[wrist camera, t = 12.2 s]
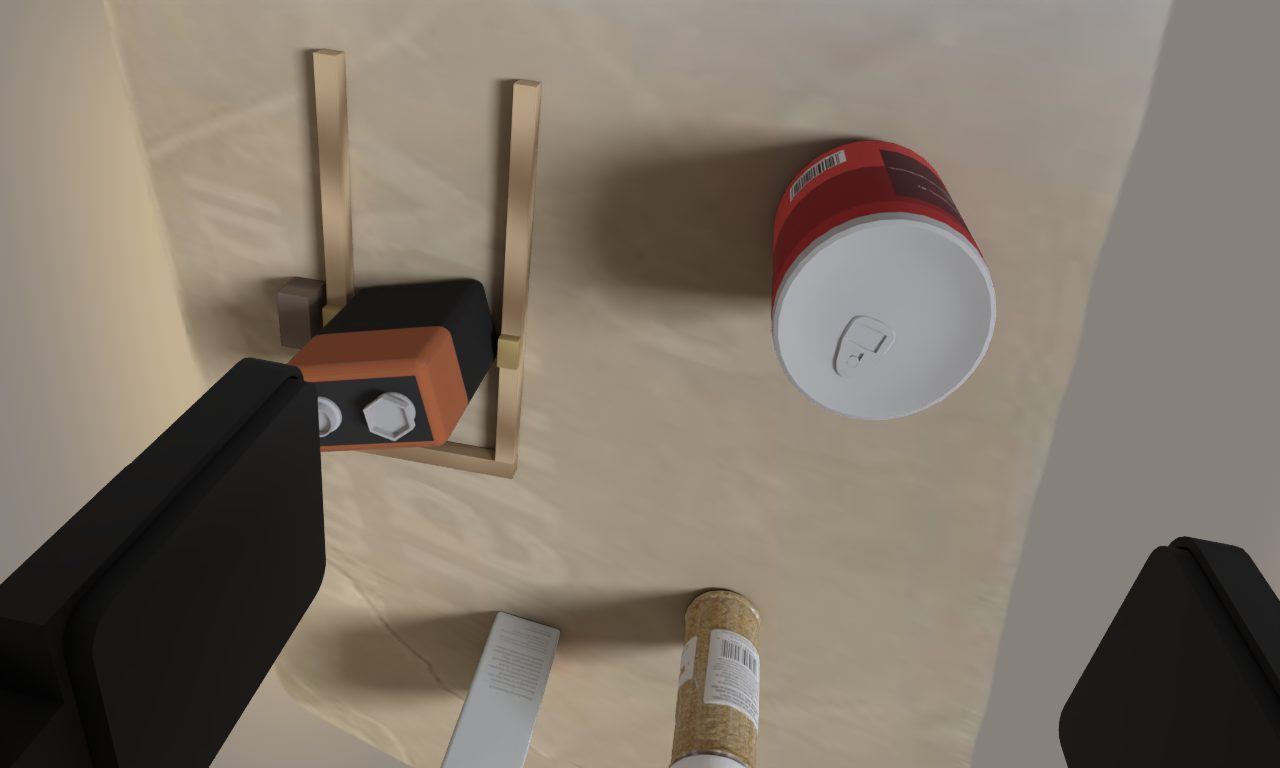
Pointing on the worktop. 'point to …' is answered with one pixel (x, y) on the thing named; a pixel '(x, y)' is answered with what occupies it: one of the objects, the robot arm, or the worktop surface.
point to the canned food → (876, 284)
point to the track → (306, 298)
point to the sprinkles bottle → (718, 684)
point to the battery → (399, 365)
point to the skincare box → (503, 696)
